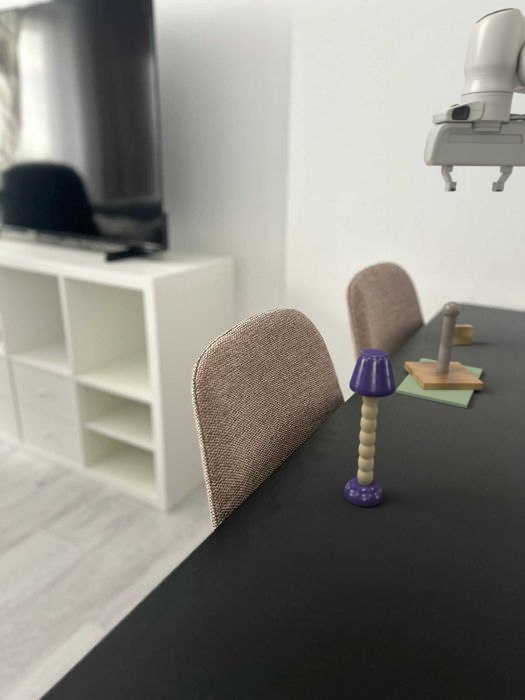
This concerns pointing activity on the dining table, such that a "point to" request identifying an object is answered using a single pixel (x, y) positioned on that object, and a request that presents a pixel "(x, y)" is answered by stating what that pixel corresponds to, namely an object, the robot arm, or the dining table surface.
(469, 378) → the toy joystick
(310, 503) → the dining table surface
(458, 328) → the block
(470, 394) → the mat
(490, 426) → the dining table surface
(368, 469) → the toy lamp
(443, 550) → the dining table surface
